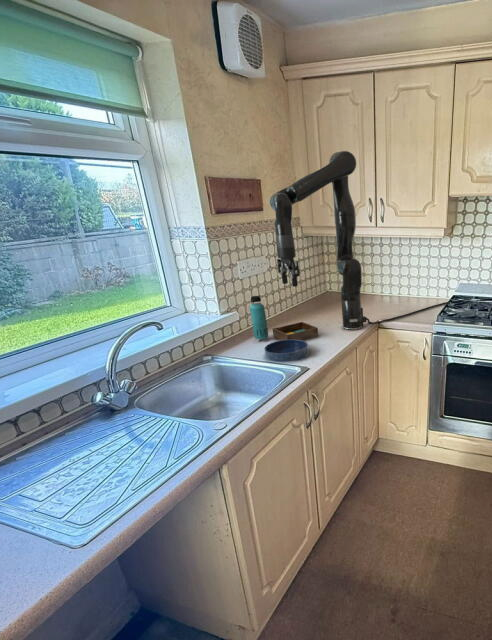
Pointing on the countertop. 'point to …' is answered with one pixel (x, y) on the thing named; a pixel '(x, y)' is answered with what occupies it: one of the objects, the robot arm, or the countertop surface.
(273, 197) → the robot arm
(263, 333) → the beverage bottle
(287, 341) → the bowl
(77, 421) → the countertop surface
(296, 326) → the box
